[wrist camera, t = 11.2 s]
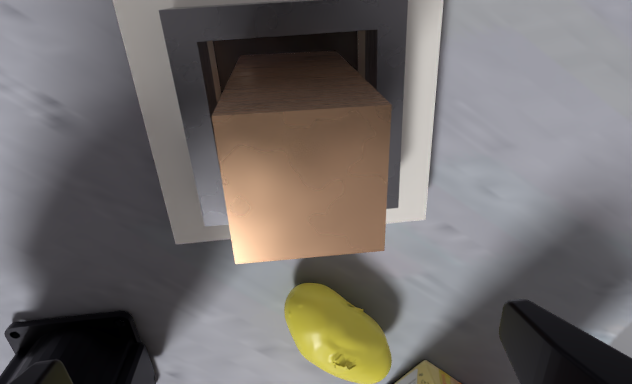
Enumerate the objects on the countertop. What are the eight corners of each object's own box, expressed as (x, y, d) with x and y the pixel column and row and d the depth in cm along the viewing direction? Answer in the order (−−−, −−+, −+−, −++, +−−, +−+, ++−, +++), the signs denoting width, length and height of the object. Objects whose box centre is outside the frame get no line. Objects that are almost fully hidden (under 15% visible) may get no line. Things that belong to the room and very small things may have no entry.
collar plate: (182, 227, 20) (165, 271, 17) (114, -51, 15) (71, -62, 11) (415, 205, 21) (440, 242, 18) (434, -68, 15) (475, -83, 12)
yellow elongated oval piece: (323, 252, 22) (333, 301, 18) (397, 332, 25) (417, 387, 22) (264, 292, 23) (263, 346, 19) (343, 364, 26) (354, 421, 22)
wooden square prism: (250, 145, 18) (235, 264, 11) (240, 55, 17) (211, 116, 9) (336, 139, 19) (384, 250, 11) (335, 50, 17) (392, 104, 9)
